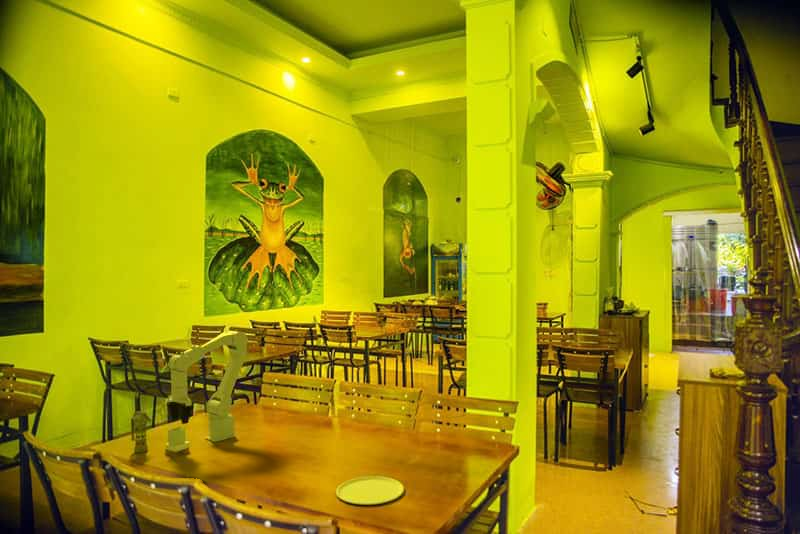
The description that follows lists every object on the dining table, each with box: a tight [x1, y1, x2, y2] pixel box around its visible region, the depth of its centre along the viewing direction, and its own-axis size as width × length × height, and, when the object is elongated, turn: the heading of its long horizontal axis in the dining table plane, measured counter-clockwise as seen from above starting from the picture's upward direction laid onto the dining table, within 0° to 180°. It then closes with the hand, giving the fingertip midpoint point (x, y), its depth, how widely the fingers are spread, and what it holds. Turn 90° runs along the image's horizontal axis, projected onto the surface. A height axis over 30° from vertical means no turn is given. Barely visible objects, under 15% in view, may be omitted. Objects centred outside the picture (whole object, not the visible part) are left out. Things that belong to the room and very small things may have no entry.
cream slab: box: [165, 440, 191, 452], centre depth 206 cm, size 6×6×2 cm
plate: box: [335, 475, 405, 506], centre depth 166 cm, size 21×21×1 cm
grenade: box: [130, 410, 152, 454], centre depth 209 cm, size 7×7×15 cm
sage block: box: [167, 427, 186, 445], centre depth 206 cm, size 4×4×5 cm
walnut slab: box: [164, 447, 190, 457], centre depth 206 cm, size 6×6×2 cm
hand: (180, 421), depth 211 cm, fingers open, 7 cm apart
